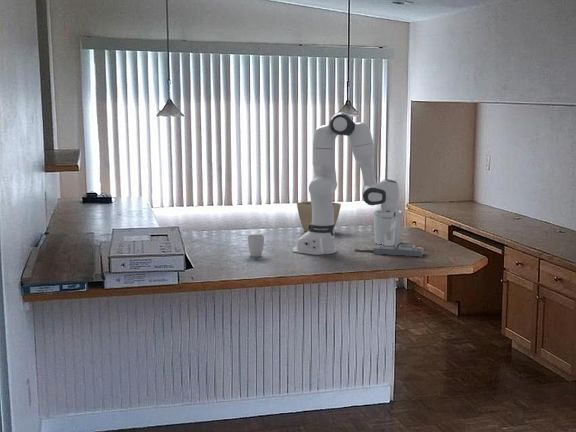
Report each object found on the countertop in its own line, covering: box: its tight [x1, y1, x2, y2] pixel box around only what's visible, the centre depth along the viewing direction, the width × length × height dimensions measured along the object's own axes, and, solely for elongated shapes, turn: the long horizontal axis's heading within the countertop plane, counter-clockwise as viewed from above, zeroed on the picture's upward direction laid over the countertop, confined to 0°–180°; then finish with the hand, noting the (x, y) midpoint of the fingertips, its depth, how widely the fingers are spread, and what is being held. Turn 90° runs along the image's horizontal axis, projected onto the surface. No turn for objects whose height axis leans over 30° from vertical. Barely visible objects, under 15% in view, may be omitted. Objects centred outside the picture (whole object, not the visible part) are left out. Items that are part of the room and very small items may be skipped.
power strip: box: [354, 243, 425, 258], centre depth 360 cm, size 35×8×4 cm, turn 73°
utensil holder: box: [373, 208, 402, 245], centre depth 384 cm, size 15×15×18 cm
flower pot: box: [296, 200, 342, 232], centre depth 418 cm, size 19×19×17 cm
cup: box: [247, 234, 265, 258], centre depth 352 cm, size 8×8×10 cm
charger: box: [384, 229, 395, 246], centre depth 358 cm, size 4×4×8 cm
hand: (389, 238), depth 359 cm, fingers closed on charger, 4 cm apart
